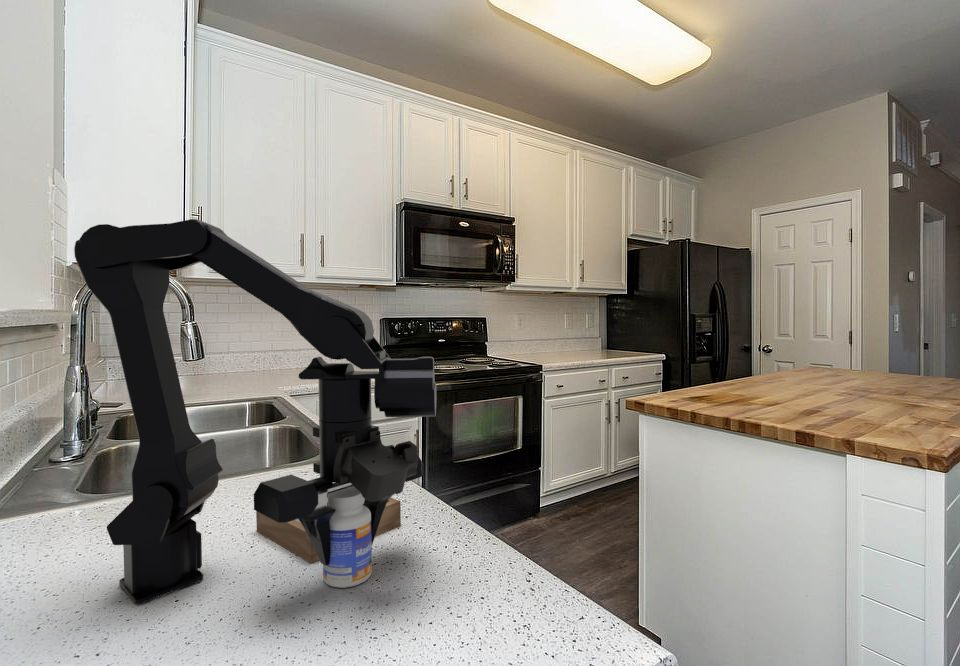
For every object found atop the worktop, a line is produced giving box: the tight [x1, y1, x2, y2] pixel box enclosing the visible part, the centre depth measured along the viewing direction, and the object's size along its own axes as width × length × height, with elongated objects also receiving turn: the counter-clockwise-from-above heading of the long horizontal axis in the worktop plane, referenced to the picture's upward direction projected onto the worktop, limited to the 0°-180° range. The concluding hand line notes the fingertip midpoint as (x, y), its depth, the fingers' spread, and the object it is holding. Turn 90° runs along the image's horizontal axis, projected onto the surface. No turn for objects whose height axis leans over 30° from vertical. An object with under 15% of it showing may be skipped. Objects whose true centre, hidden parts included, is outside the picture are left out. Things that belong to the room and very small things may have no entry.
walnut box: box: [255, 494, 402, 564], centre depth 68 cm, size 14×14×4 cm
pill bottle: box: [322, 486, 373, 589], centre depth 55 cm, size 5×5×10 cm
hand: (347, 554), depth 55 cm, fingers closed on pill bottle, 5 cm apart
